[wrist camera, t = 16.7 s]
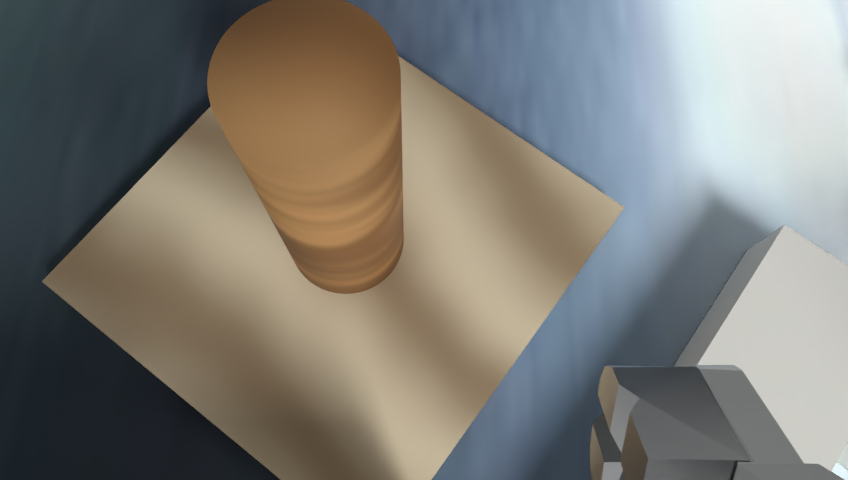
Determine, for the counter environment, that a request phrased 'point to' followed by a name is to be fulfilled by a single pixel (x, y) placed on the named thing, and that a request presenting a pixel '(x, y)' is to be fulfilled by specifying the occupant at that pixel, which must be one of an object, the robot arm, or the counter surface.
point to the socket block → (786, 340)
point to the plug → (318, 133)
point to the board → (341, 313)
